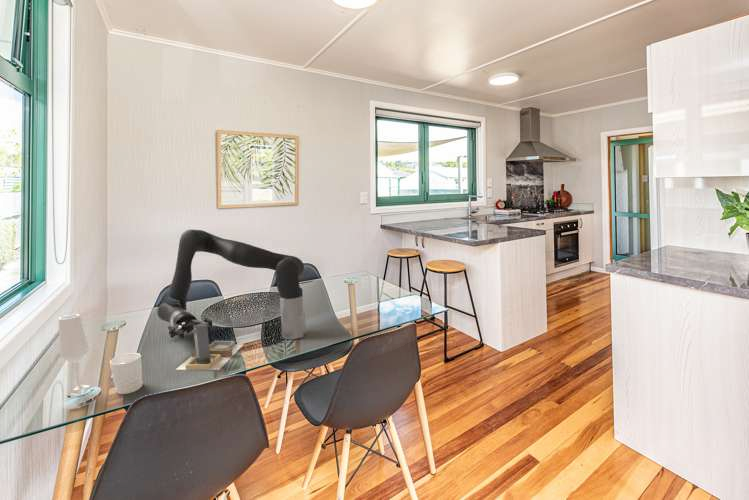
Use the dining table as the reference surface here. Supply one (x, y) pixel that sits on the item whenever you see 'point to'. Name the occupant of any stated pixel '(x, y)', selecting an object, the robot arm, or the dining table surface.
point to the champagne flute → (73, 343)
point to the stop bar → (202, 343)
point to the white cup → (127, 372)
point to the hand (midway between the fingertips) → (196, 332)
